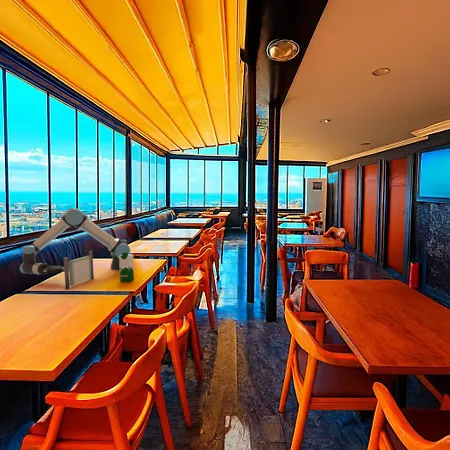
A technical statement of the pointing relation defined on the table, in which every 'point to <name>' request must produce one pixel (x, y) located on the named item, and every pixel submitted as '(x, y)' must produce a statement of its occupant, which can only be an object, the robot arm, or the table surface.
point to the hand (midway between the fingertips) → (70, 270)
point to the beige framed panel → (79, 270)
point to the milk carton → (126, 267)
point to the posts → (68, 270)
